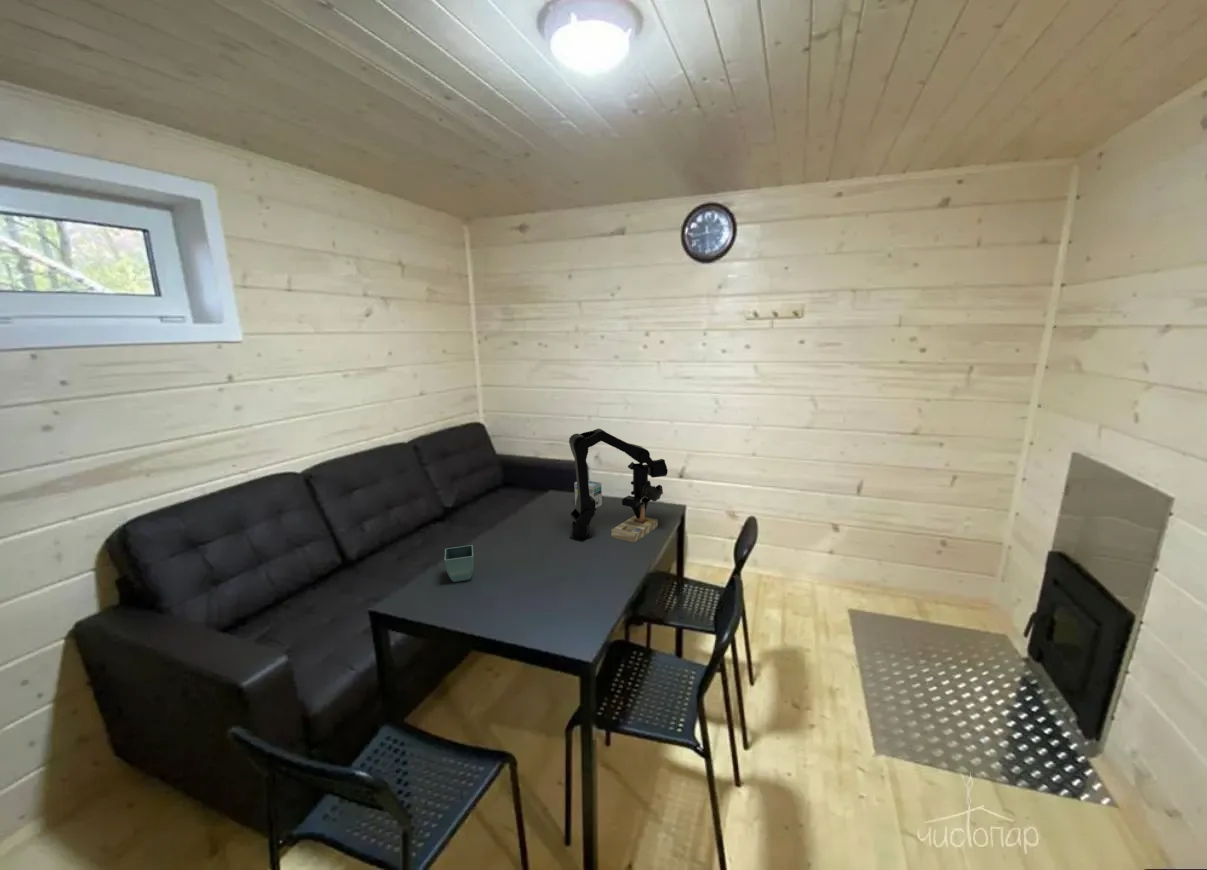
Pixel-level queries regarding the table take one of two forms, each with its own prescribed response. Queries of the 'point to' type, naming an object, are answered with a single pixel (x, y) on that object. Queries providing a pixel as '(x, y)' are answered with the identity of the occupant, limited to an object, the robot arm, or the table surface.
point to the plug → (642, 515)
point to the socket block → (634, 529)
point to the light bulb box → (592, 492)
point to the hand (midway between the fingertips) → (640, 516)
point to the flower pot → (459, 562)
